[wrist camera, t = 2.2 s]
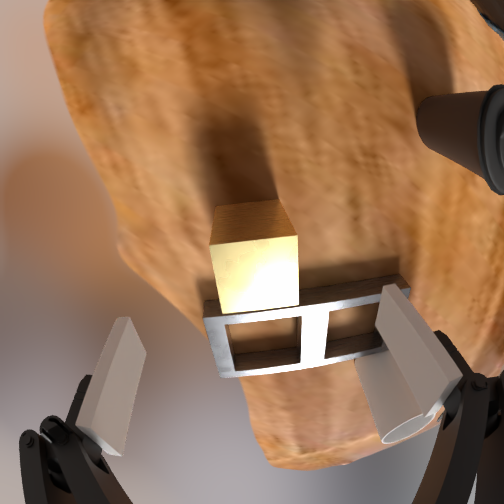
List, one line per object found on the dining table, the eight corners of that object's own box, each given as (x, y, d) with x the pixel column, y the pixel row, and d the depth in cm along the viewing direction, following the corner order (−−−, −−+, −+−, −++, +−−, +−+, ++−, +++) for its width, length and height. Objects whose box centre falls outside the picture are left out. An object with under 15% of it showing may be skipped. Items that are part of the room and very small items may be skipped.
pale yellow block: (216, 206, 22) (209, 245, 16) (278, 199, 22) (297, 235, 16) (224, 260, 24) (222, 313, 18) (282, 254, 24) (298, 304, 18)
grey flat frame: (204, 300, 26) (202, 318, 24) (399, 274, 26) (410, 287, 24) (220, 361, 30) (220, 378, 28) (384, 335, 30) (392, 349, 28)
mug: (349, 350, 31) (381, 432, 20) (397, 329, 30) (440, 403, 19) (357, 387, 35) (381, 454, 25) (397, 370, 35) (427, 433, 24)
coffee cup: (396, 82, 17) (482, 80, 8) (458, 83, 17) (536, 91, 8) (410, 171, 21) (488, 211, 12) (467, 160, 20) (539, 192, 12)
